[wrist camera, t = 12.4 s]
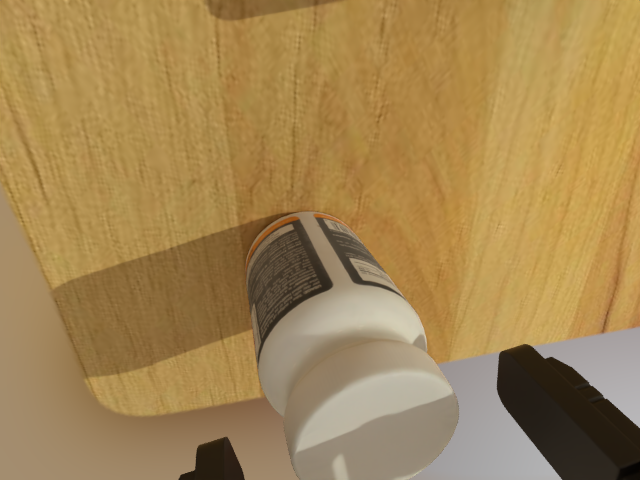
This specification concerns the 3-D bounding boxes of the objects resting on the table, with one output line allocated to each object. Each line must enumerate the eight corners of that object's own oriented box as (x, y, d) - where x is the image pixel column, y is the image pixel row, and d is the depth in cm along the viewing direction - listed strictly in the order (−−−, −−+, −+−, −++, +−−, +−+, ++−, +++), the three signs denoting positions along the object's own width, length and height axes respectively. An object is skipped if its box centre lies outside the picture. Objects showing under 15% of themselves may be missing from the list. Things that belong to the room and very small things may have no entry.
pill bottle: (260, 322, 20) (293, 537, 11) (229, 223, 17) (241, 402, 8) (365, 293, 20) (474, 471, 12) (352, 192, 18) (481, 327, 9)
